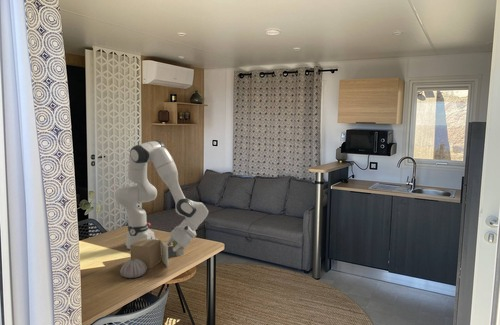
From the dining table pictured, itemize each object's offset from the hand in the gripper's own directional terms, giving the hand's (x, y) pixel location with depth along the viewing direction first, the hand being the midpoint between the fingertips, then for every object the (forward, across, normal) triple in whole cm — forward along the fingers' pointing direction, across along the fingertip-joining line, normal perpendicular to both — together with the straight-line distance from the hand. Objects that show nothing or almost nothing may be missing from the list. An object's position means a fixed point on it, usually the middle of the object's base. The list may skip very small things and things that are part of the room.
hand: (170, 248), depth 208 cm
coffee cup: (0, -14, +14) cm, 20 cm away
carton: (+15, -9, -1) cm, 17 cm away
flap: (+6, -3, +6) cm, 9 cm away
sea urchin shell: (+22, +3, -8) cm, 24 cm away
